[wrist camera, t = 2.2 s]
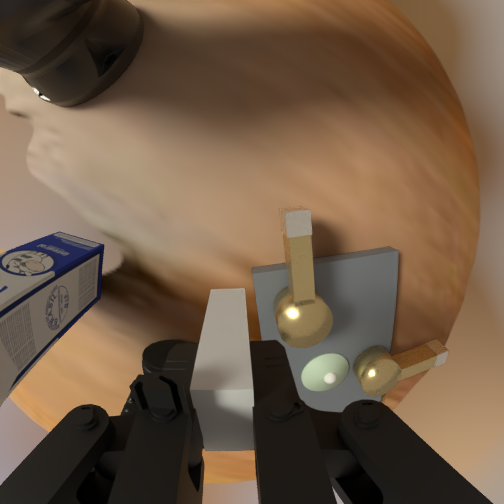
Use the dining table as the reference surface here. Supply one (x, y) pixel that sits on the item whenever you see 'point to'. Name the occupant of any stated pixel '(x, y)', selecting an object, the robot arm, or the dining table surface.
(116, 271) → the dining table surface
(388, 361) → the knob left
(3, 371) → the milk carton
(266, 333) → the level plate
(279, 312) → the knob
